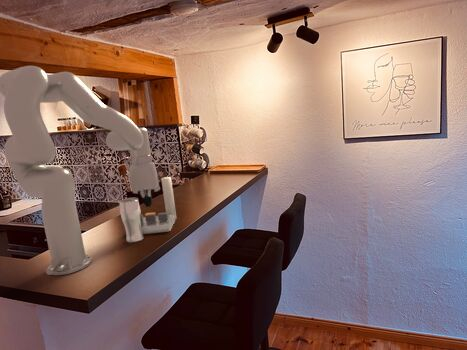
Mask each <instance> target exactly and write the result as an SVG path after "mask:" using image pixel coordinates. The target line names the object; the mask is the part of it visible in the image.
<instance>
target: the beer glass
mask: <svg viewBox="0 0 467 350" xmlns="http://www.w3.org/2000/svg"><path fill="white" fill-rule="evenodd" d="M141 211H142V210H141V206H140V202H139V198H138V197H128V198H124V199H121V200H119V213H120V216H121V221H122V223H123V225H124V229H125V232H126V233H125V234H126V240H125V241H126V242H127V243H137V242H139V241H142V240H143V239H144V234H142V232H141V215H142V213H141Z"/></svg>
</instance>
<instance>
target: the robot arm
mask: <svg viewBox="0 0 467 350" xmlns="http://www.w3.org/2000/svg"><path fill="white" fill-rule="evenodd" d="M0 94H1V95H2V96H3V97H4V102H3V113H4V118H5V120H6V123H7V125H8V127H9V130H10V133H11V136H10V137H8V139H7V140H5V144H4V150H3V151H4V156H5V159H6V162H7V164H8V166H9V167H10V169H11V172H12V174H13V175H14V177H15V179H16V181H17V183H18V185H19V186H20V188H21V189H22V191H23V192H24V193H25V194H26V195H28V196H30V197H33V198H40V199H41V209H40V211H41V219H42V223H43V228H44V232H45V237H46V241H47V247H48V251H49V256H50V265H48V266H47V268H46V269H45V273H46V275H48V276H51V275H52V276H63V275H68V274H72V273H73V274H74V273H75V272H79V271H81V270H83V269H85V268H87V267H88V266H90V265H91V263H92V262H93V261H92V260H93V259H92V257H91V255H89V254H86V251H85V246H84V241H83V236H82V235H83V234H82V230H81V226H80V225H81V224H80V220H79V215H78V209H77V203H76V195H75V194H76V182H75V178H74V176H73V174H72V173H71V171H69V170H68V169H66V168H64V167H61V166H47V165H46V164H49V163H50V162H52V161H53V160H54V159H55V158H56V152H57V151H56V146H55V144H54V142H53V139H52V137H51V135H50V133H49V130H48V128H47V127H46V124H45V121H44V119H43V116H42V113H41V103H42V104H43V103H45V104H46V103H57V102H63V103H64V104H65V105H66V106H67V107H68V108H70V109H71V110H72V111H73V112H74V113H75V114H76V115H77V116H78V117H79V118H80V119H82V120H83V121H84V122H85V123H87V124H90V125H93V126H96V127H100V128H103V129H107V130H108V131H110V132H108V134H107V135H106V138H105V143H106V146H107V147H108V148H109V149H111V150H113V151H120V152H121V151H129V153H130V158H127V162H128V163H131V165H129V182H130V187H131V190H132V191H131V192H132V193H133V194H138V195H139V196H141V197H142V199H143V205H144V206H145V208H151V206H152V205H153V195H154V193H155V192H159V191H160V190H161V187H160V180H159V175H158V172H157V168H156V165H155V162H154V161H153V159H152V152H151V145H150V140H149V133H148V129H147V128H145V127H138V126H137V124H135V123H134V122H133V121H132V120H131V119H130V118H129V117H128V116H127V115H125V114H123V113H121V112H119V111H118V110H116V109H114V108H113V107H110V106H109V105H106V103H105V104H104V102H102V101H101V99H99V98H98V96H97V95H96V94H95V93H93V91H92V90H91V89H90V88H88V86H87V85H86V84H85V83H84V82H83V81H82V80H81V79H80V78H79V77H78V76H77V75H76V74H74V73H72V72H70V71H61V72H60V71H59V72H56V73H53V74H47V73H46V71H44V69H42V67H39V66H36V65H25V66H20V67H18V68H14V69H12V70H8V71H6V72H4V73H2V74H1V75H0Z"/></svg>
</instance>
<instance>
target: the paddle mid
mask: <svg viewBox="0 0 467 350" xmlns="http://www.w3.org/2000/svg"><path fill="white" fill-rule="evenodd" d="M156 216H157V215H156V212H146V213H145V214H144V218H146V222H151V221H156Z"/></svg>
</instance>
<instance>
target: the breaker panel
mask: <svg viewBox="0 0 467 350" xmlns="http://www.w3.org/2000/svg"><path fill="white" fill-rule="evenodd" d="M168 217H169V219H168V220H161V221H159V219H158V215H156V221H151V222H146V218H145V217H143V218H144V221H143V222H141V232H142V235H148V234H158V233H159V234H160V233H168V232H169V231H170V232H171V230H172V229H173V226H174V225H173V224H175V223H176V219H175V217H174V215H168ZM170 232H169V233H170Z"/></svg>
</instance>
